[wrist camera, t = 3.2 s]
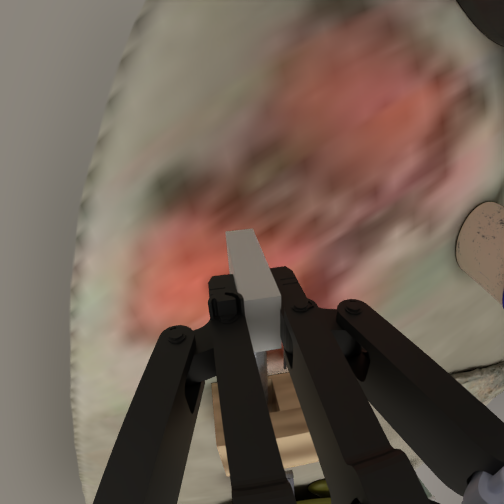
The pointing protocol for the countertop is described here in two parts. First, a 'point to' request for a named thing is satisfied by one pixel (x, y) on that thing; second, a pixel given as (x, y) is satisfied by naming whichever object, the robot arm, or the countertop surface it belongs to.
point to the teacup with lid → (484, 248)
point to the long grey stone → (483, 381)
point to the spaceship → (318, 493)
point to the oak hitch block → (277, 423)
